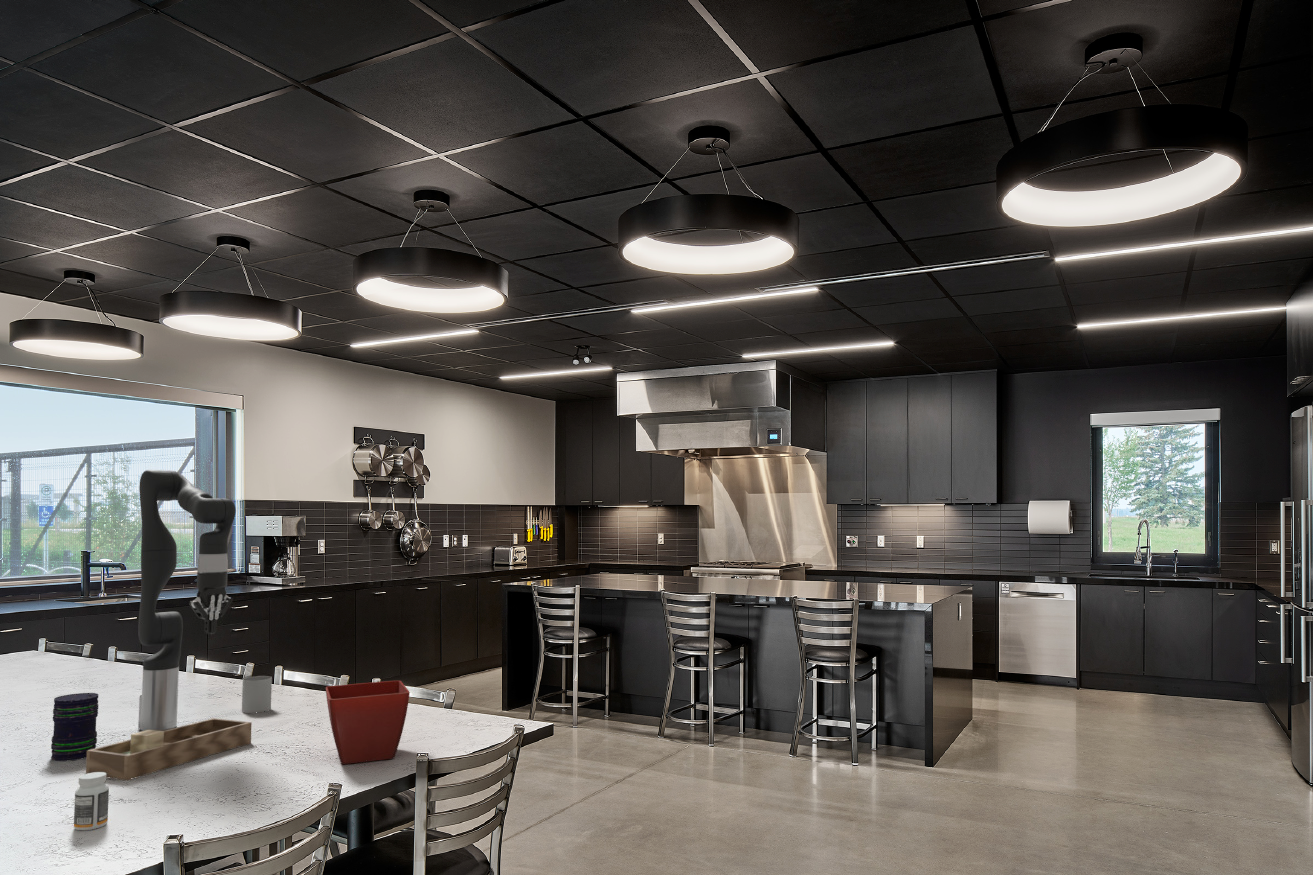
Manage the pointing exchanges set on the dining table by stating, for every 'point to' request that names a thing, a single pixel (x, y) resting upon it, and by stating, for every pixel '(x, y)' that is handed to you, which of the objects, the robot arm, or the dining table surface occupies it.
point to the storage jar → (74, 726)
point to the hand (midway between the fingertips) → (210, 633)
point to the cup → (256, 694)
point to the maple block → (146, 740)
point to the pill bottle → (91, 802)
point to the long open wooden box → (169, 749)
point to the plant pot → (367, 719)
